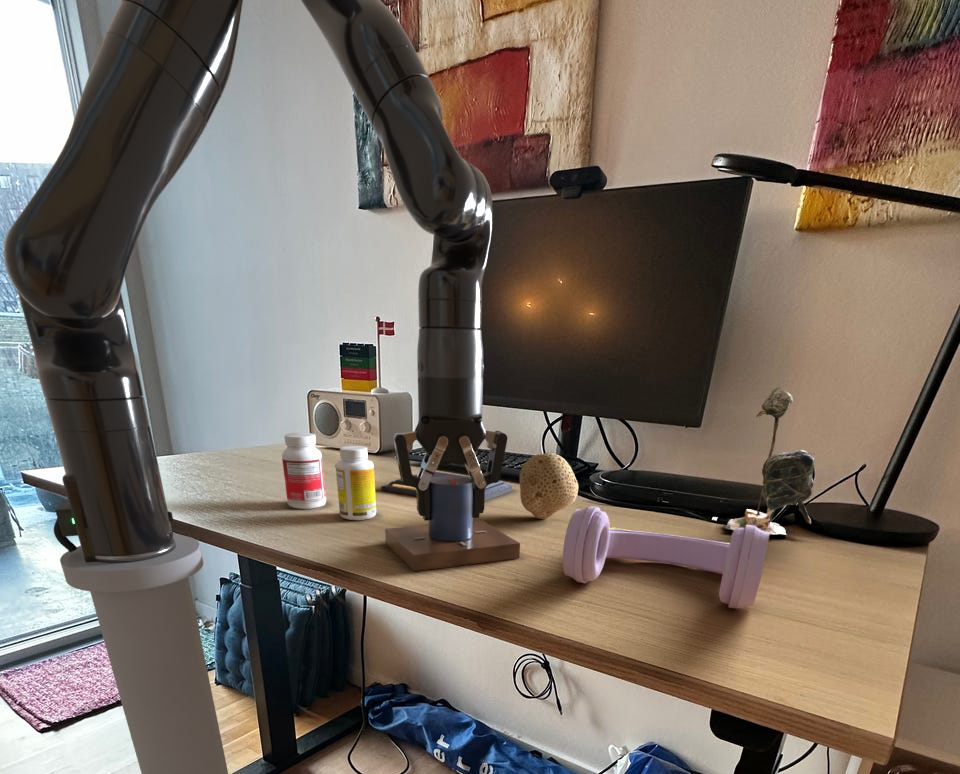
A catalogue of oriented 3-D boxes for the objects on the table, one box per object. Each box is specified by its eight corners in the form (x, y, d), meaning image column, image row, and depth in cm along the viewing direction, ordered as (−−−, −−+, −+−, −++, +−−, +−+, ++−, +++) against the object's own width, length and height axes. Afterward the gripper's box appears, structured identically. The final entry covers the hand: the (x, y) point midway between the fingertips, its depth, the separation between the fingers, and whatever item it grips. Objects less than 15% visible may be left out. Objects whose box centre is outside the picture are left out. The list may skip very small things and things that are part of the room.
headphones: (562, 520, 62) (609, 466, 78) (559, 603, 68) (603, 537, 83) (768, 547, 55) (775, 481, 70) (746, 637, 60) (757, 558, 76)
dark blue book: (515, 480, 111) (470, 494, 99) (515, 490, 112) (470, 506, 100) (429, 467, 121) (378, 479, 109) (429, 477, 121) (379, 490, 110)
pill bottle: (299, 499, 102) (292, 431, 97) (333, 502, 101) (327, 433, 96) (280, 507, 96) (271, 436, 92) (315, 511, 95) (308, 438, 90)
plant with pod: (800, 546, 83) (841, 390, 75) (717, 531, 89) (746, 386, 81) (810, 533, 90) (849, 388, 81) (731, 520, 95) (760, 384, 87)
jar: (426, 530, 79) (425, 473, 76) (468, 528, 80) (469, 473, 77) (431, 542, 74) (430, 482, 71) (476, 540, 75) (477, 481, 72)
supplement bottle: (382, 514, 94) (379, 446, 90) (365, 522, 89) (360, 451, 85) (351, 510, 96) (346, 444, 91) (332, 518, 91) (326, 449, 87)
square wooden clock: (414, 571, 71) (413, 553, 70) (385, 543, 80) (384, 527, 79) (519, 558, 76) (520, 541, 75) (480, 533, 86) (481, 518, 85)
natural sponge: (578, 514, 97) (584, 450, 92) (570, 528, 89) (577, 459, 85) (523, 509, 99) (526, 446, 94) (511, 523, 91) (514, 455, 87)
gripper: (501, 372, 74) (496, 508, 81) (383, 371, 71) (390, 513, 78) (520, 375, 67) (513, 523, 75) (391, 374, 64) (397, 528, 71)
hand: (450, 517), depth 76 cm, fingers open, 5 cm apart
